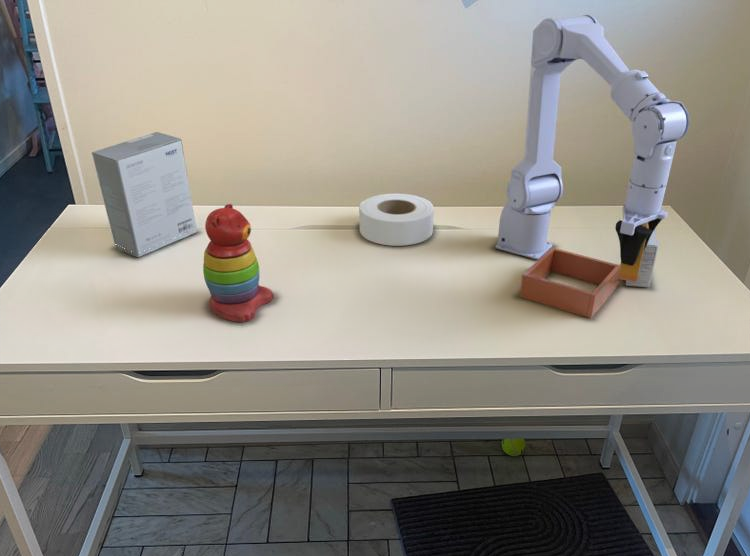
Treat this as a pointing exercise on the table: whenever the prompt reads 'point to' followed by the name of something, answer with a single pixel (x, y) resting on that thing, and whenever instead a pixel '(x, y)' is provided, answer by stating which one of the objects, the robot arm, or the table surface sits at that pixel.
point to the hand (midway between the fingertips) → (631, 259)
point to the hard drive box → (146, 192)
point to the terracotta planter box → (567, 295)
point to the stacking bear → (232, 267)
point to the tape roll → (396, 219)
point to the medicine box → (646, 264)
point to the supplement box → (632, 271)
